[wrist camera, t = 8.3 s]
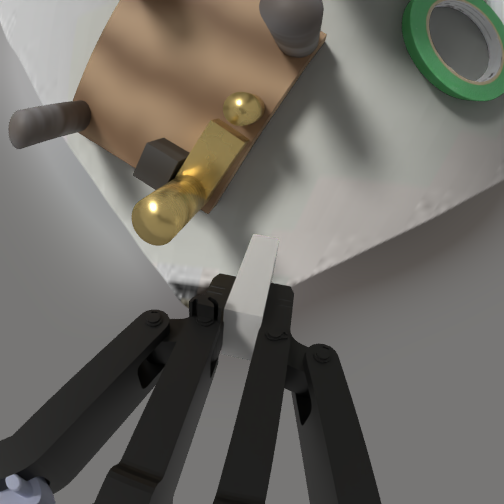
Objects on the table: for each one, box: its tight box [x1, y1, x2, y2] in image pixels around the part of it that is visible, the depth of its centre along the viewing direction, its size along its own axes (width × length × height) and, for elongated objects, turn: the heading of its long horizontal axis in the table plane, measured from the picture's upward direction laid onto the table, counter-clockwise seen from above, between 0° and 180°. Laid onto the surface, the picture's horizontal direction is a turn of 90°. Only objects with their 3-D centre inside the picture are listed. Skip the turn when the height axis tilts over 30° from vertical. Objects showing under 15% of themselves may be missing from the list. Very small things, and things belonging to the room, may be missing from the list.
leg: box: [132, 92, 265, 246], centre depth 20 cm, size 11×3×8 cm, turn 145°
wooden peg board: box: [9, 0, 326, 214], centre depth 18 cm, size 18×18×10 cm
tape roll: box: [402, 0, 504, 101], centre depth 15 cm, size 11×11×3 cm
